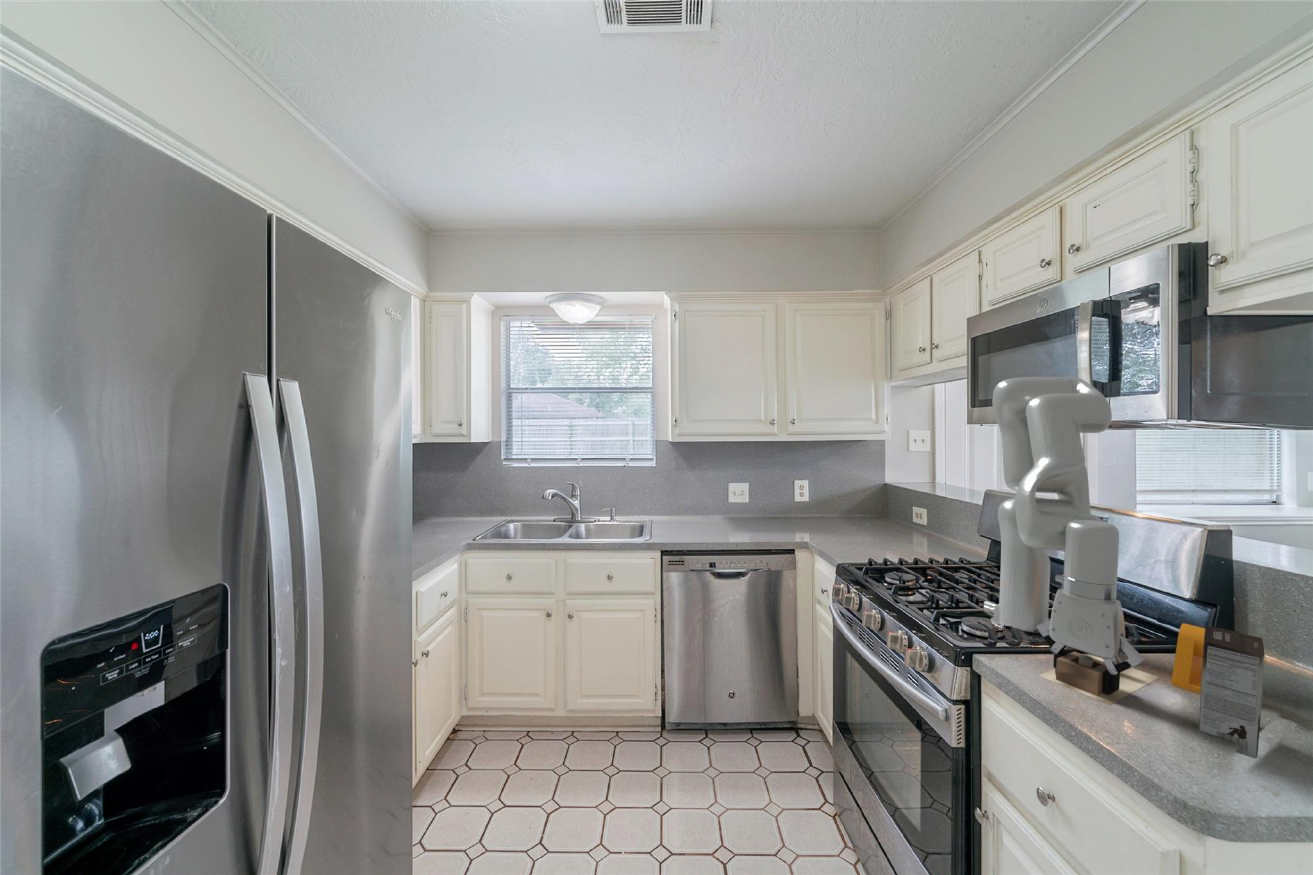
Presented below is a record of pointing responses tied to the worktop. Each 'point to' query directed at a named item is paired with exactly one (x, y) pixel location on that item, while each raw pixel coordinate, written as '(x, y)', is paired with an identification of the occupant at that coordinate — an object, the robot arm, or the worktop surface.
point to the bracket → (1189, 658)
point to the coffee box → (1232, 687)
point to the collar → (1081, 673)
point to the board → (1128, 685)
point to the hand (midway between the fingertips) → (1084, 681)
